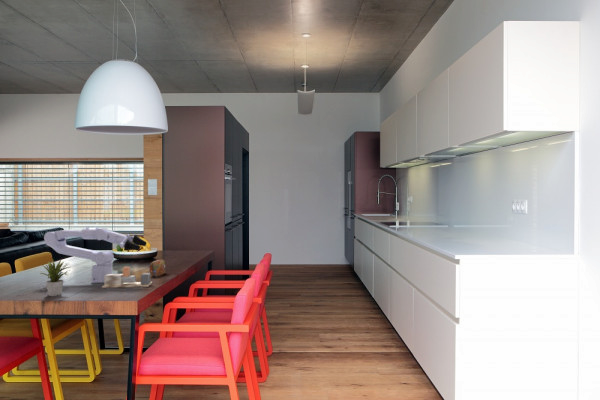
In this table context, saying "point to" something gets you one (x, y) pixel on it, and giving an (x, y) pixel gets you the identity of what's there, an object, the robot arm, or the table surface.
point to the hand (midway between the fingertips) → (142, 246)
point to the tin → (157, 267)
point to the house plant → (55, 278)
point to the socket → (145, 278)
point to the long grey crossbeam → (127, 276)
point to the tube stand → (119, 282)
